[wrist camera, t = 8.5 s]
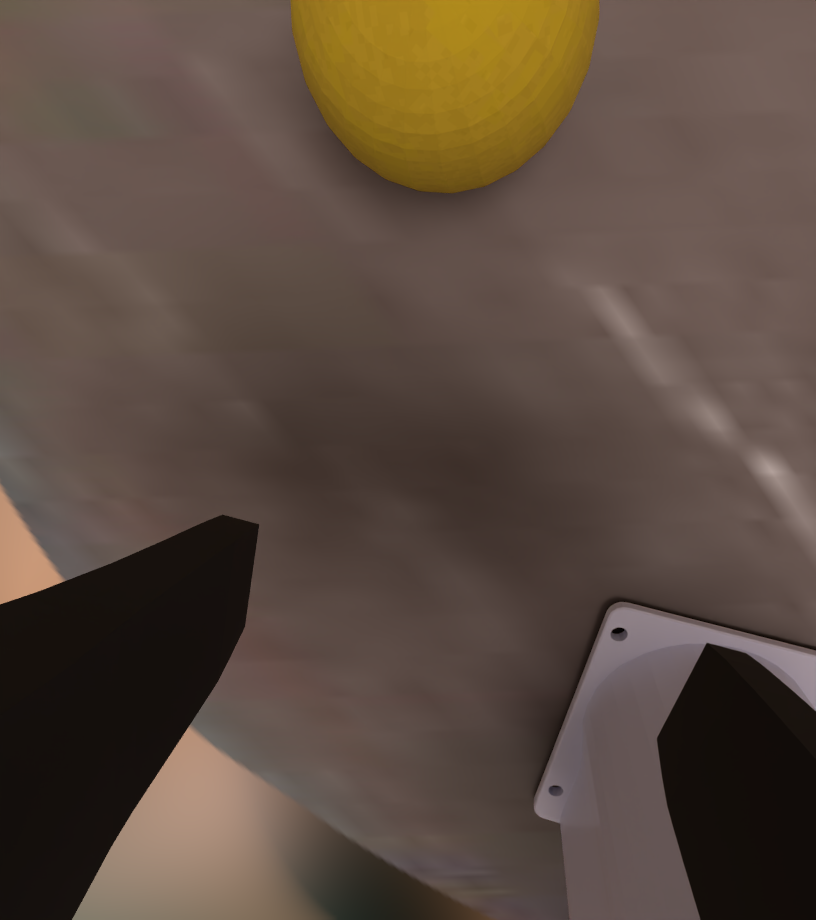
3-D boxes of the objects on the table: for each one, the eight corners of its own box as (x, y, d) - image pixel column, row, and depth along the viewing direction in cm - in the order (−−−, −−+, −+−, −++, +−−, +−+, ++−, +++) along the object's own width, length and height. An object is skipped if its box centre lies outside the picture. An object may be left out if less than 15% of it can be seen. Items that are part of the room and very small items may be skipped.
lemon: (323, 8, 15) (142, -229, 7) (543, -93, 14) (592, -501, 6) (391, 233, 16) (298, 224, 9) (595, 162, 15) (682, 83, 8)
